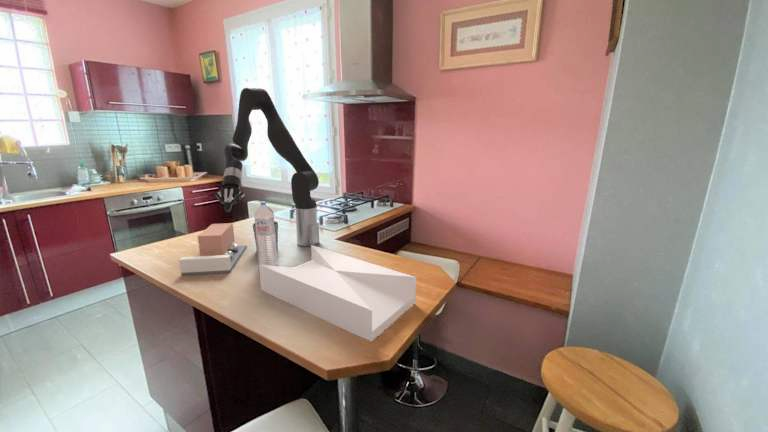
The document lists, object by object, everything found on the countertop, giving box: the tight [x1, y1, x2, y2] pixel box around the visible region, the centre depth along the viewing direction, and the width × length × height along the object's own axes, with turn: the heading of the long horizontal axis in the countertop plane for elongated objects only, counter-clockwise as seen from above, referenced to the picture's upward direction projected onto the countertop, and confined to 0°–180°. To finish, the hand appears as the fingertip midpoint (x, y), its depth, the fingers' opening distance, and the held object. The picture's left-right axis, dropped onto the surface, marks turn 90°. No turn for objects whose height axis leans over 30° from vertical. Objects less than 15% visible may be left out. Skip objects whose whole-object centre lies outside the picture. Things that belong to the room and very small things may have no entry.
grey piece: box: [178, 244, 248, 276], centre depth 124 cm, size 26×16×6 cm, turn 10°
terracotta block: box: [197, 222, 236, 256], centre depth 126 cm, size 16×8×8 cm, turn 10°
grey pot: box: [252, 220, 279, 251], centre depth 135 cm, size 10×10×12 cm
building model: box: [258, 245, 418, 342], centre depth 98 cm, size 45×22×10 cm, turn 56°
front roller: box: [197, 251, 234, 258], centre depth 123 cm, size 13×3×3 cm, turn 100°
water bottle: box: [253, 201, 278, 266], centre depth 118 cm, size 7×7×25 cm
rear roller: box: [227, 243, 239, 251], centre depth 131 cm, size 13×3×3 cm, turn 100°
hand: (227, 211), depth 139 cm, fingers closed
